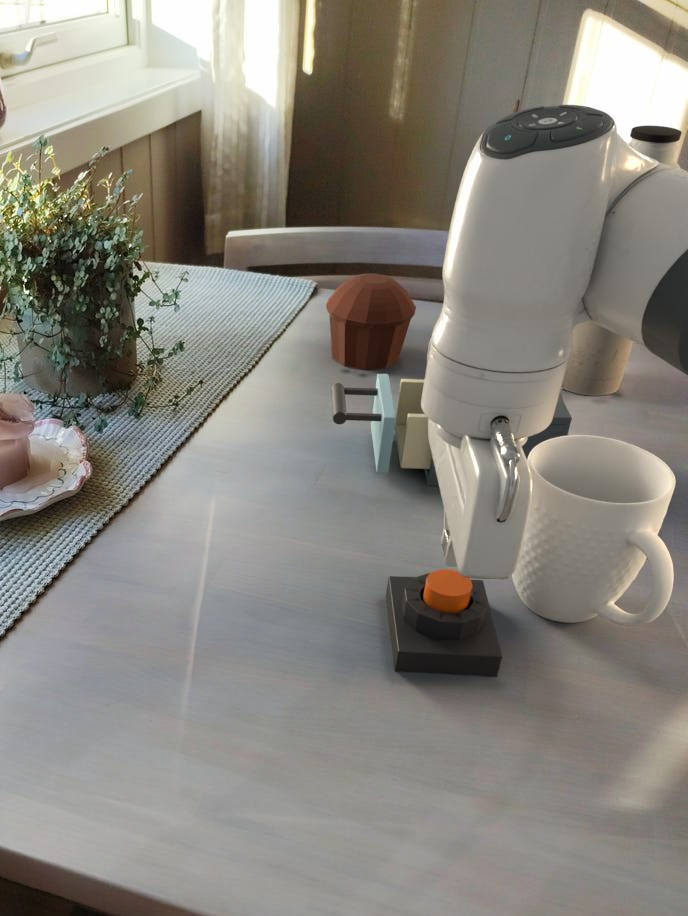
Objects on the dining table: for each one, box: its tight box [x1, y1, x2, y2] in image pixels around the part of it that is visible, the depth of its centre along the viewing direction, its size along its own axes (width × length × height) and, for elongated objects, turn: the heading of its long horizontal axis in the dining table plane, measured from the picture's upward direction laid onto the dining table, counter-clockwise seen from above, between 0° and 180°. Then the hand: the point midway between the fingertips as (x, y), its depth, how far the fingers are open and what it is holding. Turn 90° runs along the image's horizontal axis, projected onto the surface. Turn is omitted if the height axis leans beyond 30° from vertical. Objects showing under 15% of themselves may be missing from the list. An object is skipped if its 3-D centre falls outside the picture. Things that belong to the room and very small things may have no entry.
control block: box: [385, 572, 503, 678], centre depth 73 cm, size 8×10×4 cm
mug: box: [511, 434, 677, 627], centre depth 72 cm, size 15×11×13 cm
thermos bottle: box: [561, 125, 682, 397], centre depth 103 cm, size 8×8×28 cm
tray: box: [330, 373, 432, 474], centre depth 95 cm, size 16×10×6 cm, turn 85°
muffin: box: [325, 272, 417, 371], centre depth 115 cm, size 12×11×10 cm
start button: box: [423, 568, 473, 613], centre depth 72 cm, size 4×4×2 cm
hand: (454, 556), depth 69 cm, fingers closed
